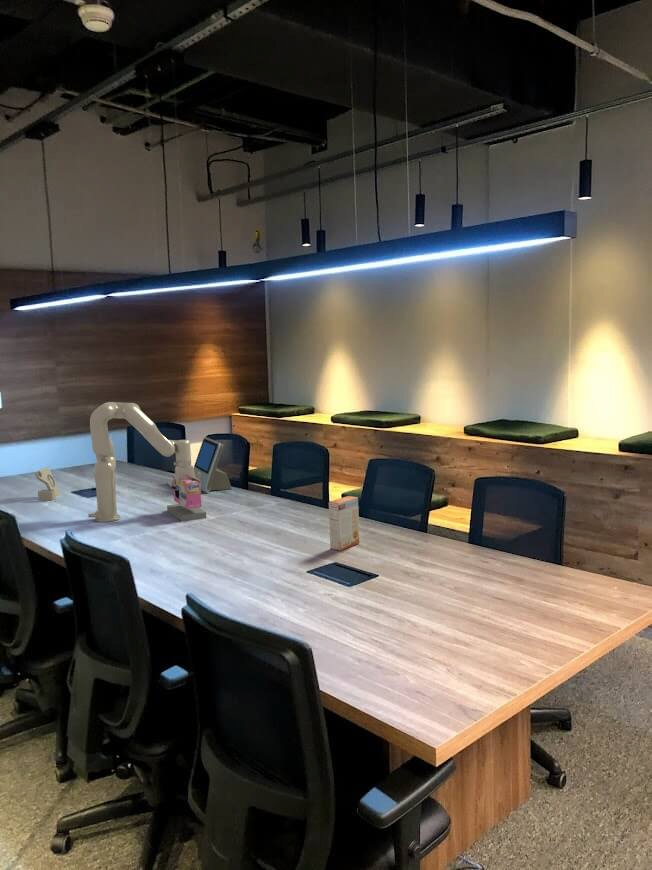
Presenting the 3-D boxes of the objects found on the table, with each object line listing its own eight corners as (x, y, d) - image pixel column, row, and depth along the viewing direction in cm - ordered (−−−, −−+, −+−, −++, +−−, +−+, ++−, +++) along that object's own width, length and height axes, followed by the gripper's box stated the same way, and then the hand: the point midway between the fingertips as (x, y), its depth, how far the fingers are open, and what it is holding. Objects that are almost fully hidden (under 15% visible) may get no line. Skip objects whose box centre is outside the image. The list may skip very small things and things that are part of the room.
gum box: (172, 500, 382) (171, 475, 380) (187, 498, 385) (185, 473, 384) (187, 509, 361) (185, 482, 359) (202, 507, 365) (200, 481, 363)
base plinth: (181, 521, 361) (181, 515, 360) (167, 510, 385) (167, 505, 384) (206, 517, 367) (206, 512, 366) (190, 507, 390) (190, 502, 390)
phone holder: (53, 501, 414) (51, 471, 412) (36, 502, 414) (34, 471, 412) (65, 495, 431) (63, 466, 429) (49, 495, 432) (46, 466, 429)
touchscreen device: (188, 484, 456) (187, 437, 453) (218, 482, 464) (217, 436, 461) (203, 494, 425) (202, 444, 421) (234, 491, 433) (234, 442, 429)
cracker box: (349, 541, 317) (348, 495, 315) (359, 543, 314) (359, 496, 311) (329, 549, 307) (328, 501, 304) (340, 551, 303) (339, 503, 300)
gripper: (169, 466, 365) (171, 500, 367) (202, 463, 373) (203, 495, 375) (165, 464, 371) (167, 497, 374) (197, 461, 379) (199, 493, 382)
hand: (185, 496), depth 374 cm, fingers closed on gum box, 8 cm apart
